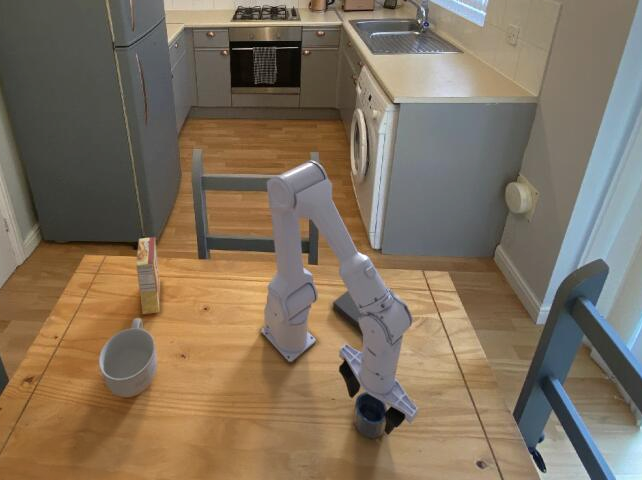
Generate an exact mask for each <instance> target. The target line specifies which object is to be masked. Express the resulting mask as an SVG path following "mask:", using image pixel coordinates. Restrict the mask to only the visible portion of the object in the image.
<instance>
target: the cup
mask: <svg viewBox="0 0 642 480" xmlns="http://www.w3.org/2000/svg"><path fill="white" fill-rule="evenodd" d="M355 399H356V400H355V404H354V411H353V421H354V425H355V427H356V429H357V430H358V432H359V433H360V434H362V435H363V436H365V437H366V438H369V439H376V438H381V436H382V435H383V433H385V430H384V429H385V425H386V419H385V416H384V414H385V412H386V411H387V410H388V408H387V404H386V403H384V402H382V401H380V400H379V399H377V398H375V397H373V396H371V395H370V394H368V393H367V392H366V391H364V392H361V393H360V394H359V395H358V396H357V397H356V398H355Z"/></svg>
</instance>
